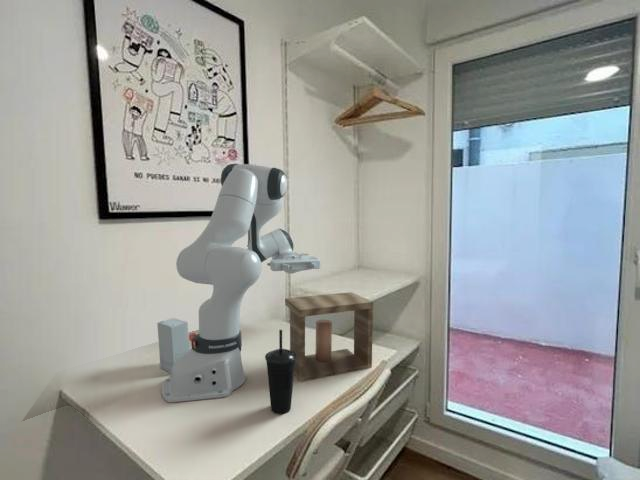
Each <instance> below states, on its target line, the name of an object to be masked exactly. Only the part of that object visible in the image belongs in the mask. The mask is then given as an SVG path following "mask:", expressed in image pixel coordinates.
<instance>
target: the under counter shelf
mask: <svg viewBox="0 0 640 480" xmlns="http://www.w3.org/2000/svg"><path fill="white" fill-rule="evenodd" d="M284 305H285V306H286V307H287V308H288V309H289V326H290V327H289V350H291V351H293V352H295V353H296V359H295V367H294V375H295V376H294V377H296V378H297V380H298V381H299V382H305V381H310V380H316V379H321V378H326V377H331V376H335V375H340V374H346V373H351V372H354V371H355V372H356V371H361V370H366V369H371V368H373V366H372V365H373V333H374V332H373V330H374V329H373V323H374V322H373V320H374V319H373V318H374V301H372V300H370V299H368V298H366V297H363V296H361V295H359V294H357V293H354V292H352V291H349V292H348V291H347V292H339V293H330V294H329V293H327V294H320V295H309V296H306V295H305V296H298V297H288V298H285V299H284ZM345 312H353V313H354V314H353V315H354V317H353V320H354V322H353V323H354V324H353V327H354V328H353V352H352V351H350V349H348V348H343V349H337V350H331V360H329V361H318V360H316V358H315V354H316V353H314V354H308V355H306V317H311V316H319V315H320V316H321V315H329V314H336V313H345Z"/></svg>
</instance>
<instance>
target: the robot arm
mask: <svg viewBox="0 0 640 480" xmlns="http://www.w3.org/2000/svg"><path fill="white" fill-rule="evenodd" d="M220 185H221V188H220V191H219V193H218V196H217V200H216V202H215V204H214V205H215V206H214V208H213V211H212V214H211V217H210V219H209V221H208V223H207V225H206V227H205V228H204V229H203V231H202V232H201V234H200V235H199V236H198V237H197V238H196V240H194V241H193V242H192V243H190V245H188V246H186V247H185V248H183V249H182V250H181V251H180V252H179V254H178V256H177V258H176V266H175V267H176V271H177V272H178V275H179V276H180V277H181V278H183V279H185V280H186V281H189V282H192V283H196V284H202V285H210V286H212V287H213V291H212V294H211V296H210V298H208V299H206V300H205V301H203V302H202V304H201V305H200V306H199V308H198V333H197V334H196V333H194V332H191V333H189V334H188V337H189V342H191V343H190V345H191V349H190V348H189V351H188V352H187V353H185V354H184V355H183V356H182V357H181V358H179V359H178V360H177V361H176V362H175V363H174V365H173V368H172V371H171V373H170V375H169V376H168V377H166V378H165V379H164V381H163V382H162V384H161V385H162V386H161V396H162V397H161V398H162V399H163V400H165V401H166V403H178V402H188V401H197V400H199V401H200V400H208V399H217V398H219V399H220V398H227V397H228V396H230V395H231V393H232V392H233V391H234V390H236V389H238V388H239V387H241V386H242V385H243V384H244V383H245V382H246V379H247V376H246V374H245V371H244V370H245V369H244V366H243V360H242V344H243V342H242V341H243V340H242V339H243V337H242V332H241V329H240V317H241V315H240V314H241V305H242V300H243V298H244V295H245V294H246V293H247V291H248V290H249V288H251V287H252V286H253V285H255V284H256V283H257V281H258V280H259V278H260V276H261V273H262V263H263V262H265V261H267V260H268V259H270V258H271V260H270V261H269V262H267V264H266V265H267V266H269V267H270V270H271V271H272V272H285V273H287V274H295V273H298V272H302V271H303V272H304V271H308V270H309V271H310V270H319V269H320V270H321V267H322V260H321V259H320V258H318V257H316V256H312V254H310V253H299V252H295V251H294V242H293V239H292V237H291V236H290V234H289V233H288V232H287V231H286V230H284V229H282V228H277V229H275V230H272V231H270V232H269V233H266V234H264V235H262V236H261V229H262V228H263V227H264V226H265V225H266V224H267V223H268V222H269V221H271V220H272V219H273V218H275V217H276V216H277V215H279V213H280V212H281V211H282V209H283V207H284V196H285V194H286V192H287V188H288V178H287V175H286V173H285V172H284V170H282V169H281V168H277V167H269V166H264V165H259V164H258V165H257V164H254V163H253V164H250V163H249V164H248V163H244V164H243V163H242V164H241V163H230V164H227V165H226V166H224V168H222V171H221V174H220ZM246 235H247V247H248V248H247V247H246V248H244V247H239V246H238V247H237V246H233V245H234V243H235V242H236V241H238V240H240V239H241V238H243V237H245V236H246Z"/></svg>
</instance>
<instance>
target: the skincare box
mask: <svg viewBox="0 0 640 480" xmlns="http://www.w3.org/2000/svg"><path fill="white" fill-rule="evenodd" d="M156 325H157V338H158V349H159V350H158V351H159V364H160V366H159V367H160V369H163V370H165V371H166V372H169V373H170V374H171V371H172V368H173V365H174V363H175V362H176V361H177V360H178V359H179V358H181V357H182V356H183V355H184V354H185V353H187V352H188V351H189V350H190V340H189V325H188V321H186V320H182V319H179V318H175V317H171V318H168V319H165V320H161V321H158V322H157V323H156Z"/></svg>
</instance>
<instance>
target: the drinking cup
mask: <svg viewBox="0 0 640 480" xmlns="http://www.w3.org/2000/svg"><path fill="white" fill-rule="evenodd" d="M278 331H279V333H278V335H279V336H278V337H279V338H278V339H279V348H277V349H274V350H271V351H269V352H266V354H265V356H264V358H265V361H266V371H267V379H268V390H269V399H270V400H269V401H270V411H271V412H272V413H273V414H276V415H284V414H287V413H289V412H290V411H291V407H292V398H293V388H294V387H293V386H294V377H295V376H294V375H295V374H294V367H295V359H296V353H295V352H293V351H291V350H290V349H287V348H283V330H282V329H279V330H278Z"/></svg>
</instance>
